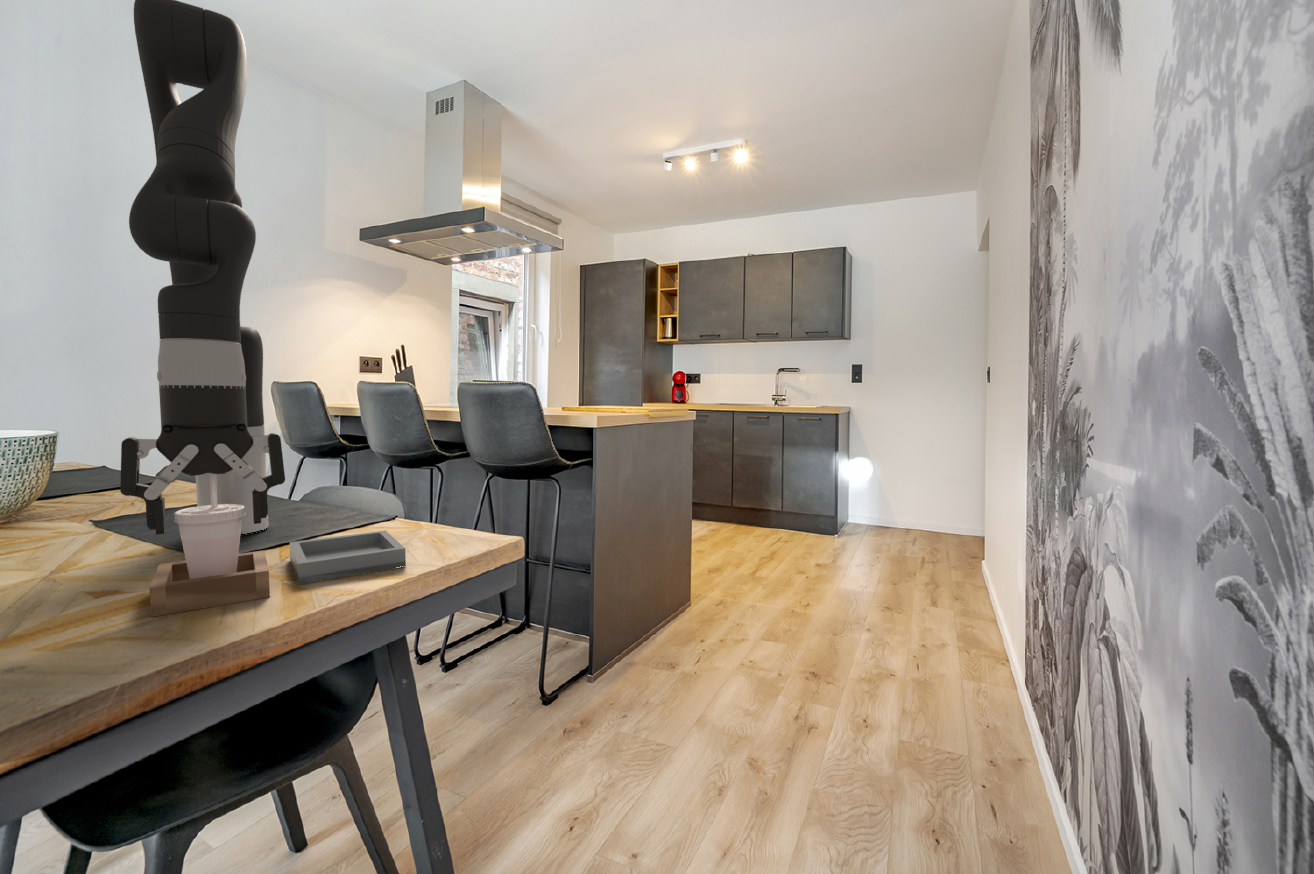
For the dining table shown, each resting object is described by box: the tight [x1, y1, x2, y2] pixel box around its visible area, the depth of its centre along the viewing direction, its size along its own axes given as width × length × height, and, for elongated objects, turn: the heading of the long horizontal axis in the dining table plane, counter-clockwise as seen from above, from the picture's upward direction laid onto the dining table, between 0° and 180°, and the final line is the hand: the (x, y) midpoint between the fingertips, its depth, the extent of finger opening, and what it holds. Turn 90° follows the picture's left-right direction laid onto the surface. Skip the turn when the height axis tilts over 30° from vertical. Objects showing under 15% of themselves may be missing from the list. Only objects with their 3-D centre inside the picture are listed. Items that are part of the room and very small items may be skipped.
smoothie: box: [173, 473, 246, 579], centre depth 64 cm, size 6×6×14 cm
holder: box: [149, 550, 271, 618], centre depth 65 cm, size 10×10×3 cm
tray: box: [289, 530, 407, 585], centre depth 76 cm, size 12×12×2 cm
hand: (210, 527), depth 64 cm, fingers open, 8 cm apart
